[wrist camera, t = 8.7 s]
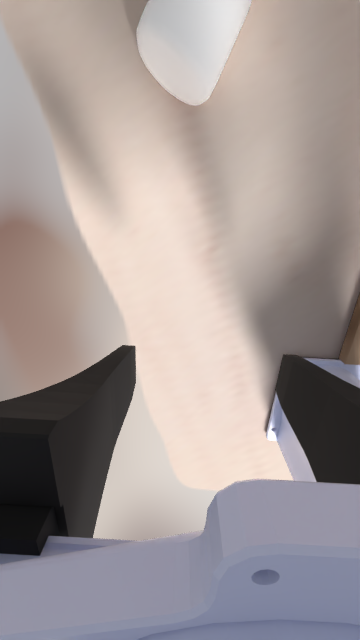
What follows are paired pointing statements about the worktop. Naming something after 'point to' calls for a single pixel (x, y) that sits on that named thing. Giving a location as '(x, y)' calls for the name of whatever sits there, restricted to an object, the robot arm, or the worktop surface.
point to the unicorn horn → (189, 43)
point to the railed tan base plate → (352, 339)
